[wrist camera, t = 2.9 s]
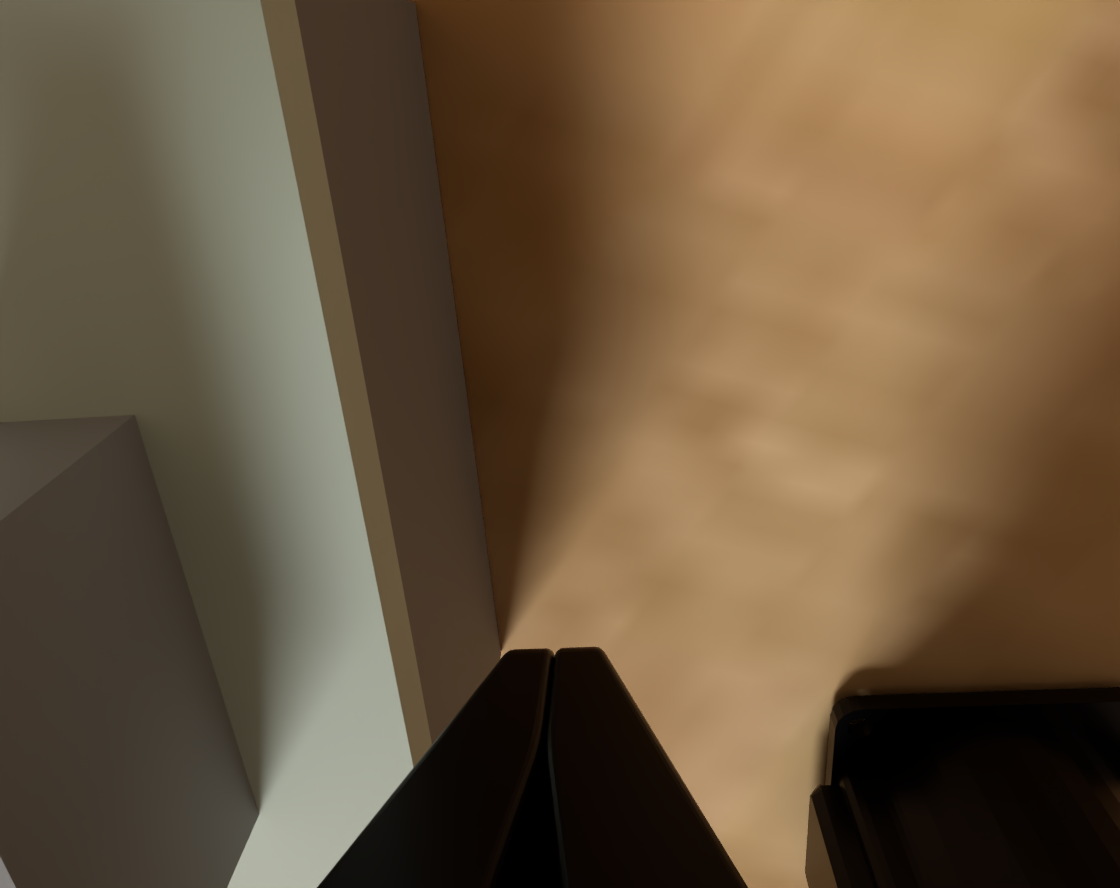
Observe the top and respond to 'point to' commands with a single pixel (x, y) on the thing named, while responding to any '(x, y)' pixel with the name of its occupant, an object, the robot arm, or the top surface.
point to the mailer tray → (406, 329)
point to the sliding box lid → (184, 464)
